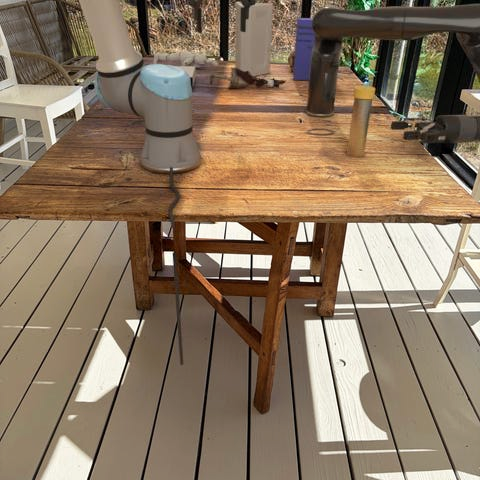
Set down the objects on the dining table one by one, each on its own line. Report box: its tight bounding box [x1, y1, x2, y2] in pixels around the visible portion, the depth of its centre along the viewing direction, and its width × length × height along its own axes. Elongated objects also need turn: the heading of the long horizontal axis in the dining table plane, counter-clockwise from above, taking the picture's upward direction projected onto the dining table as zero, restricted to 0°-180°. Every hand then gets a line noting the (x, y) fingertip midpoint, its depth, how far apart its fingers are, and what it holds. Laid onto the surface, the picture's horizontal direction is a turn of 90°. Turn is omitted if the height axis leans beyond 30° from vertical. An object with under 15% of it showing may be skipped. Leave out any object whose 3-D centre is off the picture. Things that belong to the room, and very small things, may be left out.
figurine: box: [209, 66, 287, 89], centre depth 190 cm, size 24×8×30 cm
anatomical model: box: [287, 49, 295, 72], centre depth 221 cm, size 13×9×15 cm
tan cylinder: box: [346, 96, 374, 158], centre depth 126 cm, size 5×5×17 cm
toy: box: [153, 50, 219, 69], centre depth 223 cm, size 24×25×7 cm
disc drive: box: [175, 65, 197, 91], centre depth 195 cm, size 18×22×5 cm
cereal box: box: [292, 17, 315, 81], centre depth 201 cm, size 17×5×24 cm, turn 86°
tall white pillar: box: [234, 1, 274, 77], centre depth 210 cm, size 19×15×28 cm
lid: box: [353, 85, 376, 100], centre depth 122 cm, size 5×5×2 cm
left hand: (221, 32), depth 142 cm, fingers open, 13 cm apart
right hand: (397, 130), depth 129 cm, fingers open, 8 cm apart
